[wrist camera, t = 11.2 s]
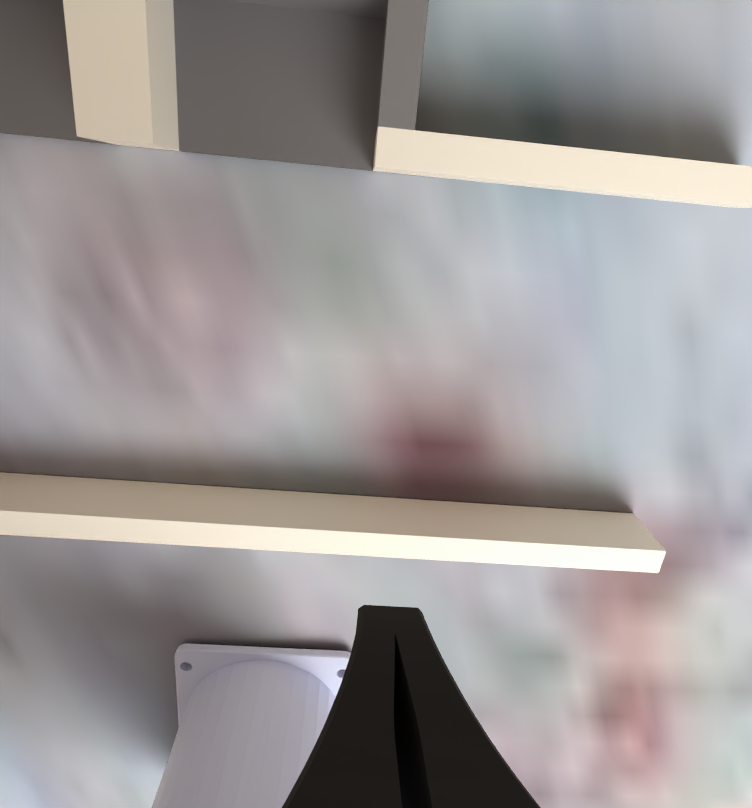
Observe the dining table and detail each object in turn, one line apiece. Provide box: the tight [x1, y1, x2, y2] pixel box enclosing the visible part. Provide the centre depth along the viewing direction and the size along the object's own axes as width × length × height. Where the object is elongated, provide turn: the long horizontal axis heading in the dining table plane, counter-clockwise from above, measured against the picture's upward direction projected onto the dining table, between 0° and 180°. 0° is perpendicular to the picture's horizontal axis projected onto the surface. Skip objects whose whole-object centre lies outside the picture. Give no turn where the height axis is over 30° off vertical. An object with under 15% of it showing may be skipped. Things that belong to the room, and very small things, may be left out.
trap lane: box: [0, 0, 752, 573], centre depth 16 cm, size 18×35×4 cm, turn 85°
